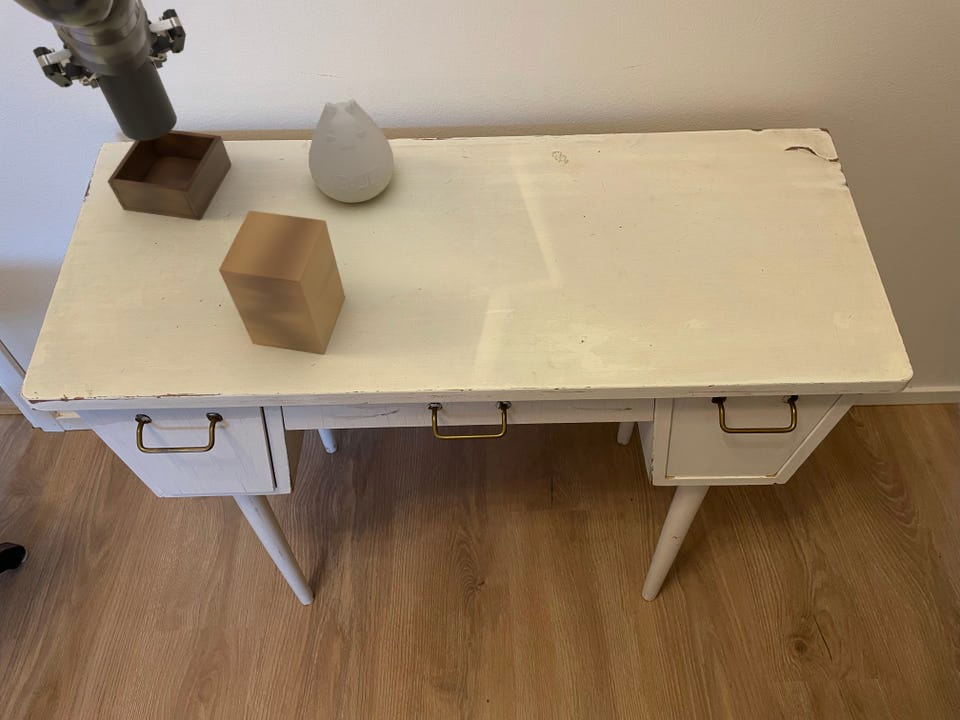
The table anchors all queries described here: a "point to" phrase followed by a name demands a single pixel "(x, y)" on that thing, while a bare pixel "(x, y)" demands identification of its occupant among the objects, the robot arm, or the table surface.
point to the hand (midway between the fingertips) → (123, 68)
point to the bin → (171, 174)
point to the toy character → (349, 154)
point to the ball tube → (139, 103)
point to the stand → (284, 281)
